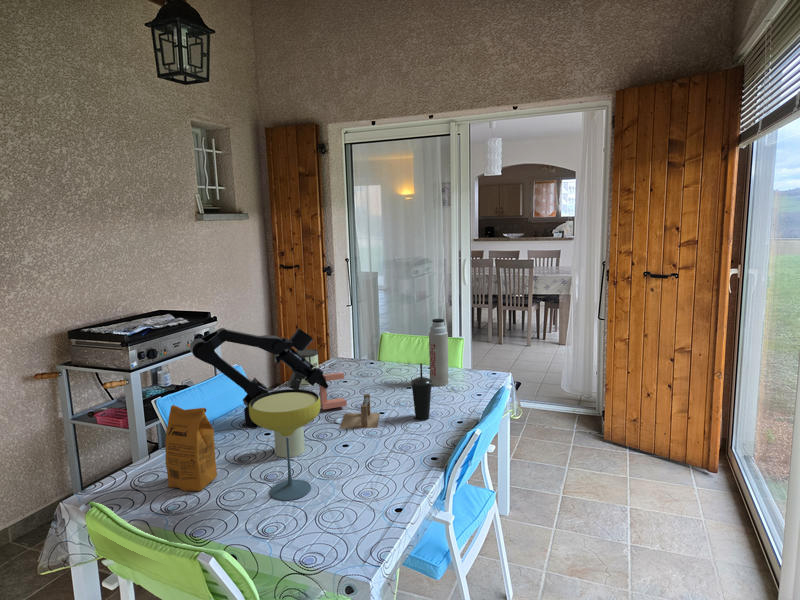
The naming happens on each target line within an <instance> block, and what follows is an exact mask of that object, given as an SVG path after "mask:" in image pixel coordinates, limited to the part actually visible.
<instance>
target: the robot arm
mask: <svg viewBox="0 0 800 600" xmlns="http://www.w3.org/2000/svg"><path fill="white" fill-rule="evenodd" d="M313 341H314V338H313V337H312V336H311V335H309V333H306V332H305V331H304V330H303V329H301V328H299V327H298V328H297V329H296V330H295V332H294V333H293V334H292V336H291V337H289V338H286V337H285V338H283V337H279V336H277V335H267V334H266V335H265V334H264V335H255V334H251V333H246V332H242V331H236V330H232V329H227V328H225V327H220V328H218V329H216V330H215V331H214V332H211V333H209V334H207V335H205V336H203V337H201V338H195V339H194V340H192V341H191V342H190V344H189V351H190V352H191V354H192V356H194V358H196V359H198V360H200V361H202V362H203V363H207V364H209V365H211V366H212V367H214V368H215V369H216V370H218V371H219V372H220V373H221V374H223V375H224V376H226V377H227V378H228V379H230V381H232V382H234V383H235V384H236V385H237V386H239V387H240V388H241V389H243V391H244V392H245V393H246V395H245V396H244V397H243V399H242V402H243V404H244V405H245V408H244V409H243V411H244V422H242V423H241V424H242V426H246V427H249V428H258V427H259V426H258V425H257V424H255V423H254V422H253V421H252V420H251V418H250V414H249V404H250V402H251V401H252V400H253V399H254V398H256V397H257V396H260V395H262V394H265V393H269V392H270V391H269V390H267V389H268V387H267V386H266V385H265V384H264V383H263V382H260V381H259V380H258V379H257V378H256V377H253V379H250V378H248V377H247V376H245V375H244V374H243V373H241V372H240V371H239V370H238V369H236V368H235V367H234V366H232V365H231V364H230V363H228V362H227V361H226V360H225V359H224V358H222V357H221V356H219V354H218V353H217V352H216V351H215V350H216V349H217V348H218V347H220V346H221V345H222V344H223V343H225V342H230V343H234V344H239V345H244V346H249V347H254V348H259V349H261V350H264V351H265V352H268V353H270V354H272V355H273V357H274V363H276V364H277V365H278V364H279V363H280V362H281V361H282V362H283V363H284V364H285V365H286V366H287V367H289V369H290V370H291V371H292V374H291V375H290V377H289V378H290V379H289V381H288V383H287V387H288V388H289V389H300V387H301V386H300V383H301V380H302V379H305V381H307V382H308V383H309V384H311V385H312V386H315V385H314V384H315V383H316V384H317V385H320V386H322V387H324V388H326V389H328V388H329V385H328V383H327V382H328V381H326V380H325V378H324V376H323V375H324V371H323V370H322V369H321V368H320V367H319V368H313V367H314V366H313V365H312V364H310V363H309V362H308V361H307V360H306V359H305V358H304V357H302V356H301V355H300V354H298V353H297V352H296V351H299V352H300V350H301V351H304V350H305V349H306V348H308V346H309V345H310V344H311V343H312V342H313ZM293 348H294V349H293ZM312 368H313V369H312ZM312 386H311V387H312Z"/></svg>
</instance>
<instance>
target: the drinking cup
mask: <svg viewBox="0 0 800 600" xmlns="http://www.w3.org/2000/svg"><path fill="white" fill-rule="evenodd" d="M419 366H420V370H419V373H420V377H415V378H413V379H411V380H410V384H411V390H412V399H413V406H414V414H415V416H414V417H415V420H418V421H427V420H429V419H430V411H431V396H432V386H433V385H432V380H431V379H430V378H428V377H426V376H423V363H419Z"/></svg>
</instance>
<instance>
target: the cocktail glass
mask: <svg viewBox="0 0 800 600" xmlns="http://www.w3.org/2000/svg"><path fill="white" fill-rule="evenodd" d="M268 392H269V393H265V394H262V395H260V396H257V397H256V398H254V399H253V400H252V401H251V402H250V404H249V414H250V418H251V420H252V421H253V422H254V423H255V424H257V425H258V427H261V428H263V429H265V430H269V431H273V432H274V431H277V432H279V433H280V434H281V435H282V436H283V437H284V438H286V445H287V458H286V459H287V479H286V480H283V481H280V482H278V483H276V484H274V485H273V486H272V487H271V488H270V490H269V495H270V497H271V498H272V499H274V500H276V501H281V502H282V501H284V502H289V501H296V500H299V499H302V498H303V497H305V496H307V495H308V494H309V493H310V492H311V490H312V486H311V483H309V482H308V480H303V479H296V478H295V479H293V476H292V470H291V469H292V467H291V457H290V454H289V437H290V436H291V435H292V434H293V432H294V431H295V430H296V429H298V428H300V427H302V426H303V427H304V426H306V425H308V424H309V423H311V422H313V420H314V419H316V418H317V416H319V414H320V411H321V404H320V395H318V394H317V393H316V392H315V391H312V390H308V389H300V388H299V389H291V388H289V389H278V390H273V391H268Z"/></svg>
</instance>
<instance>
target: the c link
mask: <svg viewBox="0 0 800 600" xmlns="http://www.w3.org/2000/svg"><path fill="white" fill-rule="evenodd" d="M323 376H324V378H325V380H326V382H330V381H337V380H344V379H345V374H344V372H335V373H327V374H323ZM318 388H319V398H320V404H321V407H320V409H322V410H328V409H329V410H330V409H333V408H341V407H342V408H343V407H347V405H348V403H347V402H348V401H347V400H346V398H344V397H340V398H339V397H338V398H333V399H328V394H327V391H328V390H327V389H328V388H327V389H326V388H324V387H322V386H320V385H319V387H318Z"/></svg>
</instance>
